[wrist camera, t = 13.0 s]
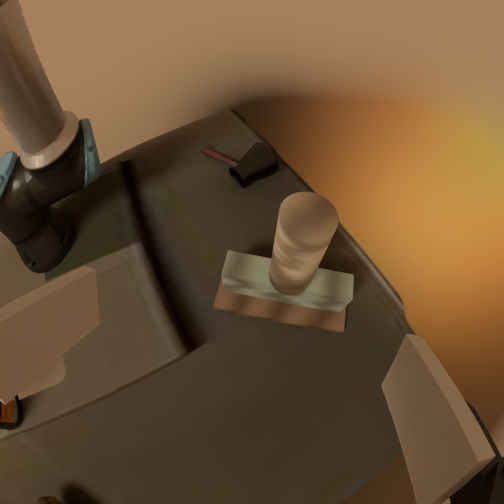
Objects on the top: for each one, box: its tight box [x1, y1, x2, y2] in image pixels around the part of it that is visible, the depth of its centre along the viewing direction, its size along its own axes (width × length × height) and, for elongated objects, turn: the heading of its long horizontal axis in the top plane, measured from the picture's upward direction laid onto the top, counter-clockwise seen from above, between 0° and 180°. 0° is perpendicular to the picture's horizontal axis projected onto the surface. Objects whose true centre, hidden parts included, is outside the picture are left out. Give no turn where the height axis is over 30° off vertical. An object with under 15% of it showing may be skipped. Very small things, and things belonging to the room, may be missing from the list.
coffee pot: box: [202, 143, 278, 188], centre depth 58 cm, size 8×18×8 cm
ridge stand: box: [214, 250, 354, 332], centre depth 42 cm, size 21×10×7 cm, turn 78°
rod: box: [269, 192, 339, 295], centre depth 33 cm, size 6×6×14 cm
